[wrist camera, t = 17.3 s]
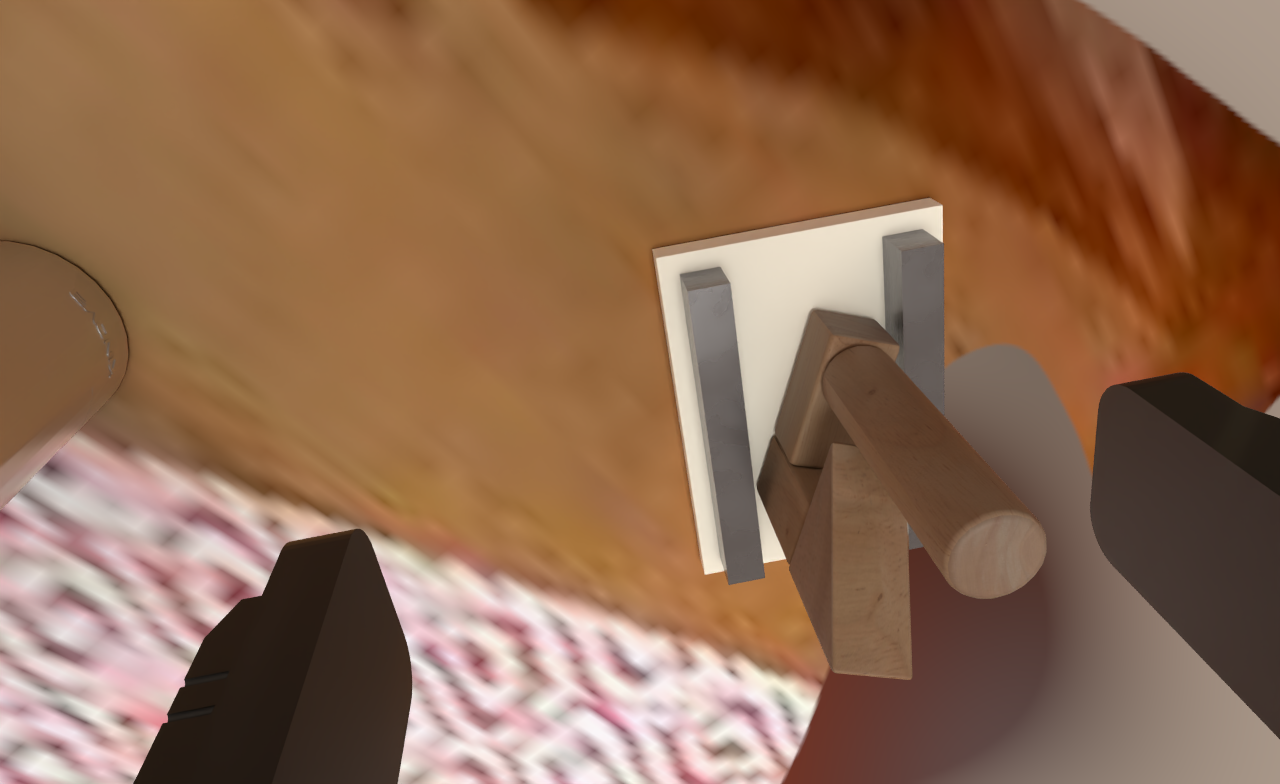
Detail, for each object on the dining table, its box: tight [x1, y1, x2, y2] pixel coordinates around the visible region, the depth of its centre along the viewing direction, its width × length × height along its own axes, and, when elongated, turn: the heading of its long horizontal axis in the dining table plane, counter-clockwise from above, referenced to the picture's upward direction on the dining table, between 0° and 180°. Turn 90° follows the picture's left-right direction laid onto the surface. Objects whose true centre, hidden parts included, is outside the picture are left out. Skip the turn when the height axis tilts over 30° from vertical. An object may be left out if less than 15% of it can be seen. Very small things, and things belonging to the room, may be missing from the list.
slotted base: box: [652, 198, 944, 585], centre depth 46 cm, size 14×19×4 cm
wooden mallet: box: [757, 310, 1047, 680], centre depth 39 cm, size 4×11×18 cm, turn 168°
